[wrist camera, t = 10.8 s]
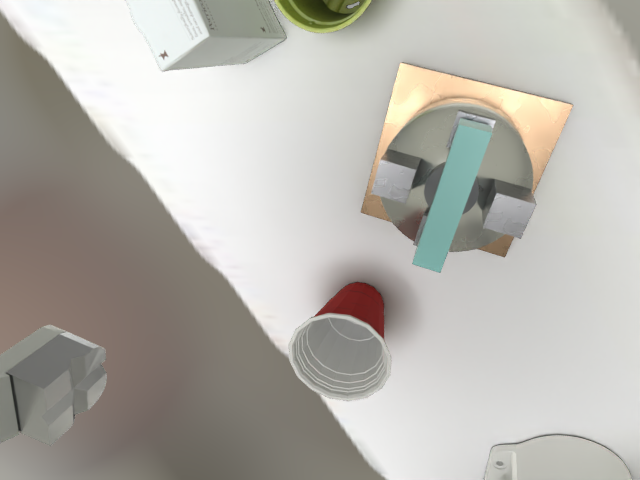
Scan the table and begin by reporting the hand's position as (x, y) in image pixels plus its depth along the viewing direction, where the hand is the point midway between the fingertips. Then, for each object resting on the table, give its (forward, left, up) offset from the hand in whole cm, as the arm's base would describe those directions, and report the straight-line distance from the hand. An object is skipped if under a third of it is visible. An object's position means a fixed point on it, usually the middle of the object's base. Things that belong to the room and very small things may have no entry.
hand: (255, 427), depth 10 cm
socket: (-3, -4, -41) cm, 41 cm away
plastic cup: (-23, +1, -41) cm, 47 cm away
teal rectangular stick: (-3, -4, -33) cm, 33 cm away
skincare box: (+6, +21, -41) cm, 47 cm away
